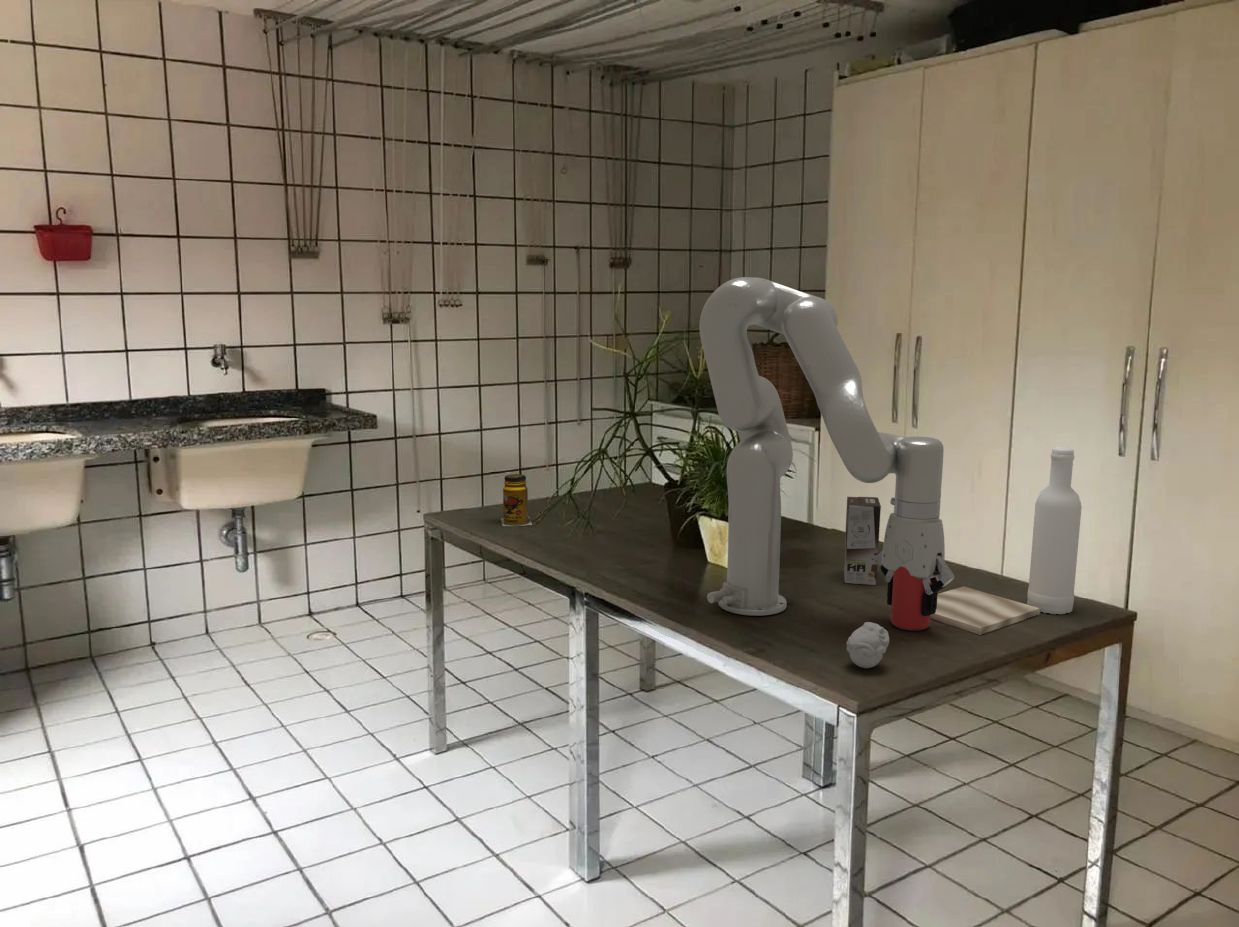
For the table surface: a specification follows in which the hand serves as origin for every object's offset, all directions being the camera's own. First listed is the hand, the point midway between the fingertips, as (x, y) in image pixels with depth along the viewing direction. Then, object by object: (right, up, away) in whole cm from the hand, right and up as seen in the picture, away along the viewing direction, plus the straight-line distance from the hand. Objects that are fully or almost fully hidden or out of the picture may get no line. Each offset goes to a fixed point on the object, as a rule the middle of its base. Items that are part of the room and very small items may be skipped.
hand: (911, 608), depth 175 cm
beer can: (0, -3, +1) cm, 3 cm away
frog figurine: (-12, -7, -18) cm, 23 cm away
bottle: (+29, -2, +10) cm, 30 cm away
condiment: (-77, +10, +73) cm, 107 cm away
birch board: (+13, -2, +8) cm, 15 cm away
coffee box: (-2, +2, +28) cm, 29 cm away
